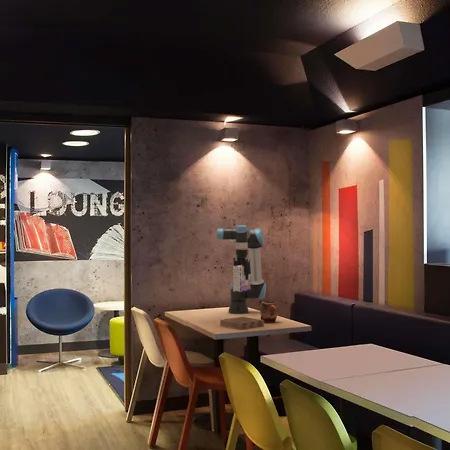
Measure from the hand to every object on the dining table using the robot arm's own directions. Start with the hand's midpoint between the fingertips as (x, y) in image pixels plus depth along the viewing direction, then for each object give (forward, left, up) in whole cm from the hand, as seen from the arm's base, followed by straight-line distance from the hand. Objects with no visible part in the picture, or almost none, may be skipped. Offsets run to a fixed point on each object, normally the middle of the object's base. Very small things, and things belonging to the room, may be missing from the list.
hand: (241, 284), depth 391 cm
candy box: (0, 0, -4) cm, 4 cm away
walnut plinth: (0, 0, -27) cm, 27 cm away
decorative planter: (-24, +1, -27) cm, 36 cm away
